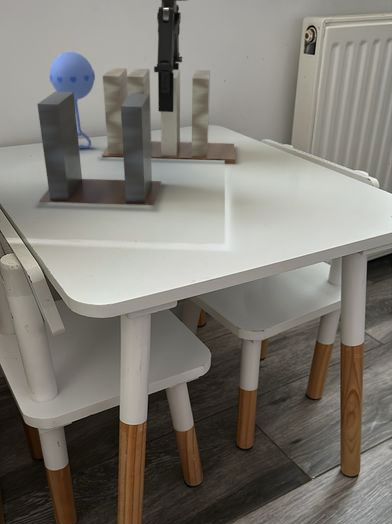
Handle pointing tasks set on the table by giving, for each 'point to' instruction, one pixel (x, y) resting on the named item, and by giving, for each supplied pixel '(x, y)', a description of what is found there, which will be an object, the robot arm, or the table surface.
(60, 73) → the baby rattle
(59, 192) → the grey rack
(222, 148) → the beige marbled rack
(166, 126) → the white book
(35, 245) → the table surface
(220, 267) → the table surface
